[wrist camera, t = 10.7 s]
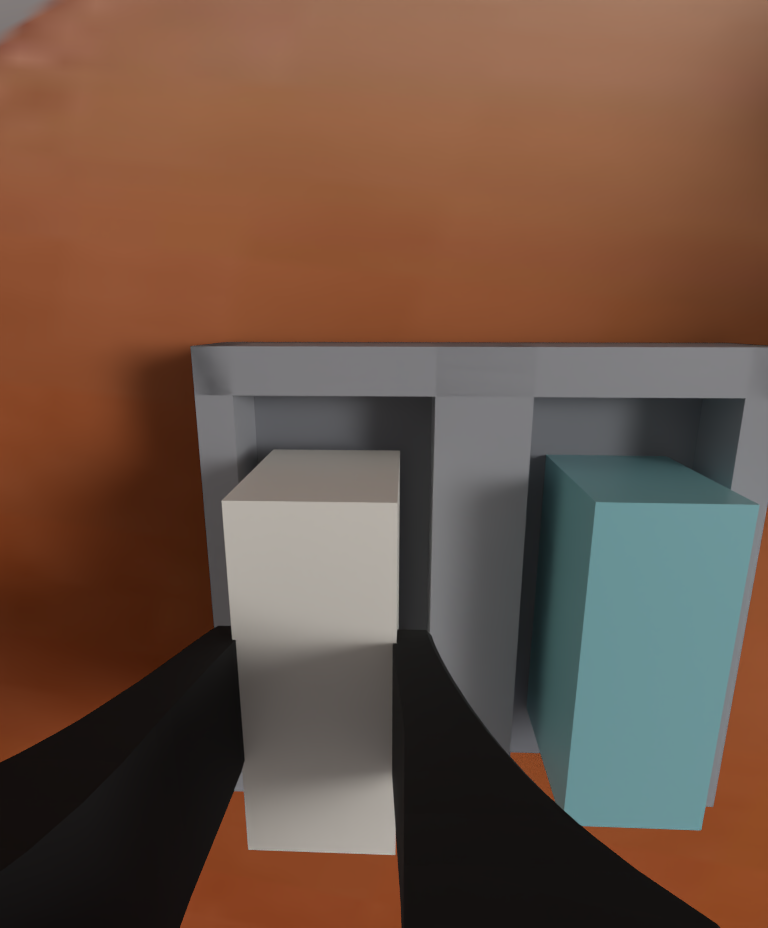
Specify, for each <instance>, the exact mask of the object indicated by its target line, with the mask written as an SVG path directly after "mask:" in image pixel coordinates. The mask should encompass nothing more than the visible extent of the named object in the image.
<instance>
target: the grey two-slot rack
mask: <svg viewBox="0 0 768 928" xmlns="http://www.w3.org/2000/svg"><path fill="white" fill-rule="evenodd" d="M191 358H192V370H193V382H194V393H195V405H196V417H197V429H198V441H199V453H200V465H201V477H202V489H203V501H204V513H205V525H206V536H207V548H208V560H209V572H210V584H211V596H212V608H213V620H214V628H215V627H217V626H231V618H230V605H229V592H228V579H227V566H226V553H225V540H224V527H223V514H222V500H223V499H224V498H225V497H226V496H227V495H228V494H229V493H230V492H231V491H232V490H233V489H234V488H235V487H236V486H237V485H238V484H239V483H240V482H241V481H242V480H243V479H244V478H245V477H246V476H247V475H248V474H249V473H250V472H251V471H252V470H253V469H254V468H255V467H256V466H257V465H258V464H259V463H260V462H261V461H262V460H263V459H264V458H265V457H266V456H267V455H268V454H269V453H270V452H271V451H272V450H273V449H281V450H392V451H400V507H399V629H403V630H427V631H428V632H429V633H430V634H431V635H432V638H433V641H434V643H435V646H436V648H437V650H438V652H439V654H440V656H441V658H442V660H443V662H444V664H445V666H446V667H447V669H448V671H449V673H450V675H451V676H452V678H453V680H454V681H455V683H456V684H457V686H458V687H459V689H460V691H461V692H462V694H463V695H464V697H465V698H466V700H467V701H468V703H469V704H470V706H471V707H472V709H473V710H474V711H475V713H476V714H477V716H478V717H479V718H480V720H481V721H482V722H483V724H484V725H485V726H486V728H487V729H488V730H489V732H490V733H491V734H492V735H493V737H494V738H495V739H496V740H497V742H498V743H499V744H500V745H501V746H502V748H503V749H504V750H505V751H506V752H507V754H508V755H509V756H510V752H523V753H540V750H539V747H538V744H537V741H536V737H535V734H534V731H533V728H532V725H531V721H530V718H529V715H528V712H527V708H526V706H527V694H528V681H529V668H530V655H531V642H532V630H533V617H534V604H535V591H536V578H537V566H538V553H539V540H540V527H541V514H542V501H543V489H544V476H545V463H546V455H613V456H667V457H669V458H671V459H672V460H674V461H676V462H678V463H680V464H682V465H684V466H686V467H688V468H690V469H692V470H694V471H696V472H698V473H699V474H701V475H703V476H705V477H707V478H709V479H711V480H713V481H715V482H717V483H719V484H721V485H723V486H724V487H726V488H728V489H730V490H732V491H734V492H736V493H738V494H740V495H742V496H744V497H746V498H748V499H749V500H751V501H753V502H755V503H757V504H759V505H760V506H759V512H758V517H757V523H756V528H755V534H754V539H753V545H752V550H751V556H750V562H749V567H748V573H747V578H746V584H745V589H744V595H743V600H742V606H741V612H740V617H739V623H738V628H737V634H736V639H735V645H734V651H733V656H732V662H731V667H730V673H729V678H728V684H727V689H726V695H725V701H724V706H723V712H722V717H721V723H720V728H719V734H718V739H717V745H716V751H715V756H714V762H713V767H712V773H711V778H710V784H709V789H708V795H707V801H706V806H705V807H713V805H714V799H715V794H716V788H717V782H718V777H719V771H720V766H721V760H722V755H723V749H724V744H725V738H726V732H727V727H728V721H729V716H730V710H731V705H732V699H733V693H734V688H735V682H736V677H737V671H738V666H739V660H740V655H741V649H742V643H743V638H744V632H745V627H746V621H747V616H748V610H749V605H750V599H751V593H752V588H753V582H754V577H755V571H756V566H757V560H758V554H759V549H760V543H761V538H762V532H763V527H764V521H765V516H766V510H767V504H768V346H766V345H751V344H736V343H491V342H223V343H214V344H206V345H197V346H191ZM234 791H244V787H243V774H242V771H241V774H240V777H239V779H238V782H237V784H236V787H235V789H234Z"/></svg>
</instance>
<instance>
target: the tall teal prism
mask: <svg viewBox="0 0 768 928" xmlns="http://www.w3.org/2000/svg"><path fill="white" fill-rule="evenodd" d="M759 506H760V505H759V504H757V503H755V502H753V501H751V500H749V499H748V498H746V497H744V496H742V495H740V494H738V493H736V492H734V491H732V490H730V489H728V488H726V487H724V486H723V485H721V484H719V483H717V482H715V481H713V480H711V479H709V478H707V477H705V476H703V475H701V474H699V473H698V472H696V471H694V470H692V469H690V468H688V467H686V466H684V465H682V464H680V463H678V462H676V461H674V460H672V459H671V458H669V457H667V456H613V455H546V463H545V476H544V489H543V501H542V514H541V527H540V540H539V553H538V566H537V578H536V591H535V604H534V617H533V630H532V642H531V655H530V668H529V681H528V694H527V706H526V708H527V712H528V715H529V718H530V721H531V725H532V728H533V731H534V734H535V737H536V741H537V744H538V747H539V750H540V754H541V757H542V760H543V763H544V767H545V770H546V773H547V776H548V780H549V783H550V786H551V789H552V792H553V796H554V799H555V802H556V804H557V805H559V806H560V807H561V808H562V809H563V810H564V811H565V812H566V813H567V814H569V815H570V816H571V817H572V818H573V819H574V820H575V821H576V822H577V823H579V824H580V825H581V826H598V827H625V828H652V829H678V830H701V828H702V823H703V817H704V812H705V806H706V801H707V795H708V789H709V784H710V778H711V773H712V767H713V762H714V756H715V751H716V745H717V739H718V734H719V728H720V723H721V717H722V712H723V706H724V701H725V695H726V689H727V684H728V678H729V673H730V667H731V662H732V656H733V651H734V645H735V639H736V634H737V628H738V623H739V617H740V612H741V606H742V600H743V595H744V589H745V584H746V578H747V573H748V567H749V562H750V556H751V550H752V545H753V539H754V534H755V528H756V523H757V517H758V512H759Z"/></svg>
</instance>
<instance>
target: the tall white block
mask: <svg viewBox="0 0 768 928" xmlns="http://www.w3.org/2000/svg"><path fill="white" fill-rule="evenodd" d="M399 507H400V451H392V450H281V449H273V450H272V451H271V452H270V453H269V454H268V455H267V456H266V457H265V458H264V459H263V460H262V461H261V462H260V463H259V464H258V465H257V466H256V467H255V468H254V469H253V470H252V471H251V472H250V473H249V474H248V475H247V476H246V477H245V478H244V479H243V480H242V481H241V482H240V483H239V484H238V485H237V486H236V487H235V488H234V489H233V490H232V491H231V492H230V493H229V494H228V495H227V496H226V497H225V498H224V499H223V500H222V514H223V527H224V540H225V553H226V566H227V579H228V592H229V605H230V618H231V631H232V640H236V651H237V664H238V677H239V691H240V704H241V717H242V730H243V744H244V757H245V761H244V765H243V768H242V774H243V787H244V800H245V813H246V826H247V839H248V850H271V851H299V852H327V853H355V854H383V855H395V837H396V827H395V812H394V797H393V782H392V667H393V643H397V629H399Z"/></svg>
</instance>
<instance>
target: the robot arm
mask: <svg viewBox="0 0 768 928" xmlns="http://www.w3.org/2000/svg"><path fill="white" fill-rule="evenodd" d="M244 761H245V757H244V744H243V730H242V717H241V704H240V691H239V677H238V664H237V651H236V640H232V631H231V626H217V627H215V628H214V629H212V630H210V631H209V632H207V633H206V634H205V635H203V636H202V637H200V638H199V639H197V640H196V641H195V642H193V643H192V644H191V645H189V646H188V647H186V648H185V649H184V650H182V651H181V652H180V653H178V654H177V655H175V656H174V657H173V658H171V659H170V660H168V661H167V662H166V663H164V664H163V665H161V666H160V667H159V668H157V669H156V670H154V671H153V672H152V673H150V674H149V675H147V676H146V677H145V678H143V679H142V680H140V681H139V682H137V683H136V684H134V685H133V686H131V687H130V688H128V689H127V690H125V691H123V692H122V693H120V694H119V695H117V696H116V697H114V698H113V699H111V700H110V701H108V702H107V703H105V704H104V705H102V706H100V707H99V708H97V709H96V710H94V711H93V712H91V713H90V714H88V715H86V716H85V717H83V718H81V719H80V720H78V721H76V722H75V723H73V724H71V725H70V726H68V727H66V728H64V729H63V730H61V731H59V732H58V733H56V734H54V735H52V736H50V737H48V738H47V739H45V740H43V741H41V742H39V743H37V744H35V745H34V746H32V747H30V748H28V749H26V750H24V751H22V752H21V753H19V754H17V755H15V756H13V757H11V758H9V759H7V760H5V761H2V762H0V928H180V925H181V923H182V920H183V917H184V914H185V912H186V909H187V906H188V903H189V901H190V898H191V895H192V893H193V890H194V888H195V886H196V883H197V881H198V878H199V876H200V873H201V871H202V868H203V866H204V863H205V861H206V858H207V856H208V854H209V851H210V849H211V846H212V844H213V841H214V839H215V836H216V834H217V831H218V829H219V827H220V824H221V822H222V819H223V817H224V814H225V812H226V809H227V807H228V804H229V802H230V799H231V797H232V794H233V792H234V789H235V787H236V784H237V782H238V779H239V777H240V774H241V771H242V768H243V765H244ZM392 782H393V797H394V812H395V827H396V841H397V856H398V871H399V885H400V900H401V923H402V928H720V927H719V926H718V925H717V924H716V923H715V922H713V921H712V920H710V919H709V918H707V917H706V916H704V915H703V914H701V913H700V912H698V911H697V910H695V909H694V908H692V907H691V906H689V905H688V904H687V903H685V902H684V901H682V900H681V899H679V898H678V897H676V896H675V895H673V894H672V893H670V892H669V891H667V890H666V889H664V888H663V887H661V886H660V885H658V884H657V883H656V882H654V881H653V880H651V879H650V878H648V877H647V876H645V875H644V874H642V873H641V872H639V871H638V870H637V869H635V868H634V867H633V866H631V865H630V864H629V863H627V862H626V861H625V860H623V859H622V858H621V857H620V856H618V855H617V854H616V853H614V852H613V851H612V850H611V849H609V848H608V847H607V846H605V845H604V844H603V843H602V842H600V841H599V840H598V839H596V838H595V837H594V836H593V835H591V834H590V833H589V832H588V831H587V830H586V829H584V828H583V827H582V826H581V825H580V824H579V823H577V822H576V821H575V820H574V819H573V818H572V817H571V816H570V815H569V814H567V813H566V812H565V811H564V810H563V809H562V808H561V807H560V806H559V805H557V804H556V803H555V802H554V801H553V800H552V799H551V798H550V797H549V796H547V795H546V794H545V793H544V792H543V791H542V790H541V789H540V788H539V787H538V786H537V785H536V784H535V783H534V782H533V781H532V780H531V779H530V778H529V777H528V776H527V775H526V774H525V772H524V771H523V770H522V769H521V768H520V767H519V766H518V765H517V764H516V762H515V761H514V760H513V759H512V758H511V757H510V756H509V755H508V754H507V752H506V751H505V750H504V749H503V748H502V746H501V745H500V744H499V743H498V742H497V740H496V739H495V738H494V737H493V735H492V734H491V733H490V732H489V730H488V729H487V728H486V726H485V725H484V724H483V722H482V721H481V720H480V718H479V717H478V716H477V714H476V713H475V711H474V710H473V709H472V707H471V706H470V704H469V703H468V701H467V700H466V698H465V697H464V695H463V694H462V692H461V691H460V689H459V687H458V686H457V684H456V683H455V681H454V680H453V678H452V676H451V675H450V673H449V671H448V669H447V667H446V666H445V664H444V662H443V660H442V658H441V656H440V654H439V652H438V650H437V648H436V646H435V643H434V641H433V638H432V635H431V634H430V633H429V632H428V631H427V630H403V629H397V643H393V667H392Z"/></svg>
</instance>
